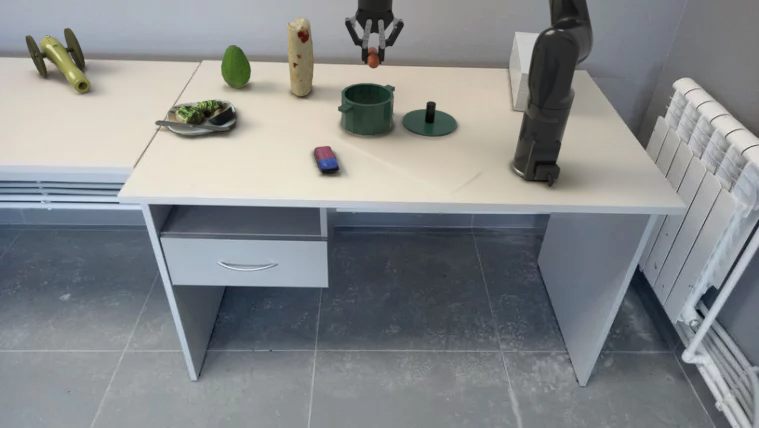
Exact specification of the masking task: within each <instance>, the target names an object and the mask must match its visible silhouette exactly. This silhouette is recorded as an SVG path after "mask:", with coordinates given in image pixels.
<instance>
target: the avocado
mask: <svg viewBox="0 0 759 428" xmlns="http://www.w3.org/2000/svg"><path fill="white" fill-rule="evenodd" d="M220 71H221V76H222V79H223V81H224V82H225V83H226V84H227V85H228V86H230V87H231V88H234V89H241V88H244V87H245V86H246V85H247V84H248V83H249V81H250V79H251V76H252V75H251V74H252V68H251V64H250V62H249V60H248V58H247V56H246V54H245V53H244V50H243V48H241V47H240V46H237V45H235V44H231V45H229V46H227V47H226V49H225V51H224V54H223V57H222V61H221V64H220Z"/></svg>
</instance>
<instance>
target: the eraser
mask: <svg viewBox="0 0 759 428" xmlns="http://www.w3.org/2000/svg"><path fill="white" fill-rule="evenodd" d="M313 155H314V158H315V160H316V163H317V166H318V169H319V171H320V173H321V174H322V175H324V174H328V173H333V172H334V173H335V172H338V171H339V170H340V166H339V164H338V163H339V162H338V161H337V158H336V156H335V154H334V151H333V150H332V147H331V146H330V145H323V146H316V147H314V150H313Z"/></svg>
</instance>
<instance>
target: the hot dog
mask: <svg viewBox="0 0 759 428" xmlns="http://www.w3.org/2000/svg"><path fill="white" fill-rule="evenodd" d="M367 66H368V67H369V68H370V69H377V68H378V67H379V66H380V64H379V57H378V48H376V47H375V46H370V47H368V64H367Z"/></svg>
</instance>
